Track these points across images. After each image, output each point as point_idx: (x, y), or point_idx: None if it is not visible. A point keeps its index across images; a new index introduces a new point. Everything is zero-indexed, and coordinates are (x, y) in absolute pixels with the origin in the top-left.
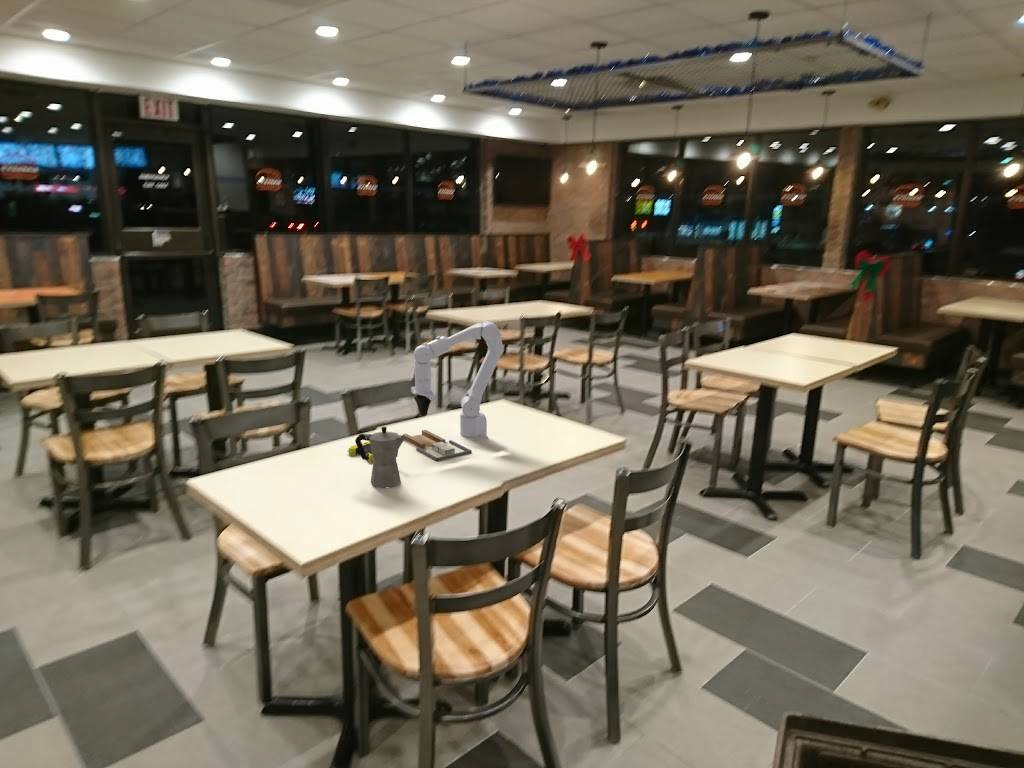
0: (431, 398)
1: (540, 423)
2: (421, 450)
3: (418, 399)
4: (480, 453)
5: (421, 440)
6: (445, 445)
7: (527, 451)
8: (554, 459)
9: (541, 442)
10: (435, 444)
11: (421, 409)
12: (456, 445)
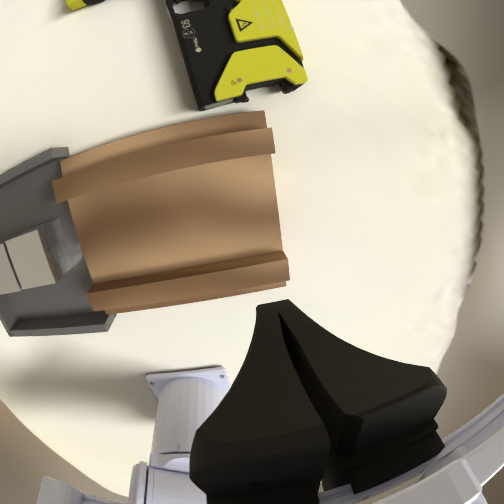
0: (40, 496)
1: None
2: (17, 165)
3: (249, 438)
4: (46, 357)
5: (179, 213)
6: (19, 278)
7: (65, 427)
8: (30, 425)
9: (119, 461)
10: (27, 242)
11: (251, 341)
12: (62, 324)
